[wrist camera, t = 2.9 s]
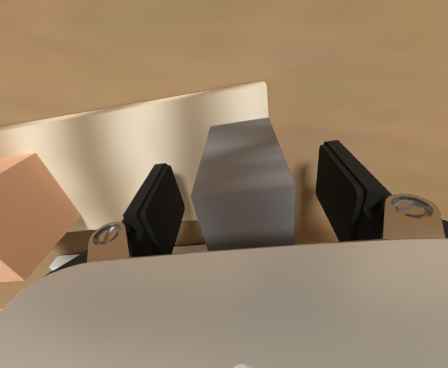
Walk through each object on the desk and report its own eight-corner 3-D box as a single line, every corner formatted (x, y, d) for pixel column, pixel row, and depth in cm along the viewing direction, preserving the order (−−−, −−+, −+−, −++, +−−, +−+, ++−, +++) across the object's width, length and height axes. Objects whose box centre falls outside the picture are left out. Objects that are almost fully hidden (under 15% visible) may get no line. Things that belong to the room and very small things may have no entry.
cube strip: (263, 81, 11) (296, 133, 5) (271, 201, 15) (292, 304, 10) (-54, 136, 14) (-277, 213, 8) (29, 225, 18) (-71, 318, 12)
